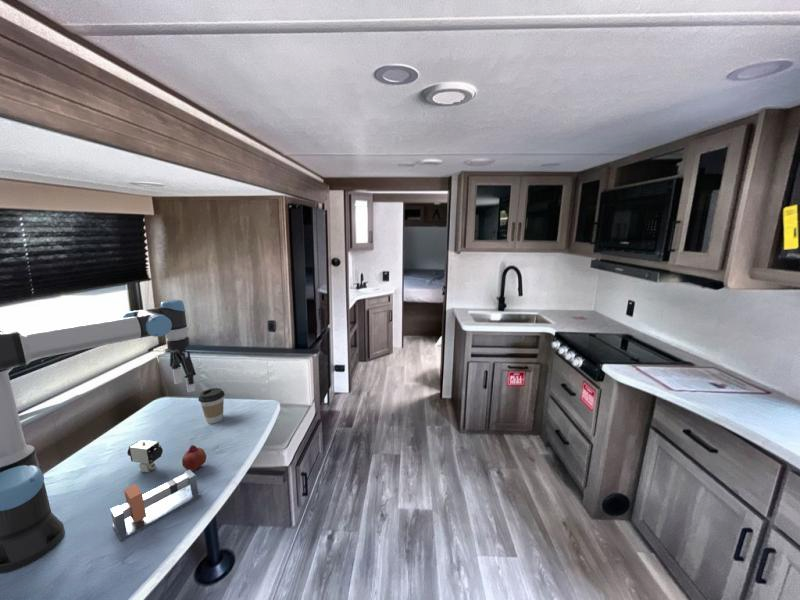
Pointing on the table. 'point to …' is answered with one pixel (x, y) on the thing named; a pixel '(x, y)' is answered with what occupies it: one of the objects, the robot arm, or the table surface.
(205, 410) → the coffee cup
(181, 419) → the table surface
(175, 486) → the grey rail frame
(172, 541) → the table surface
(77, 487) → the table surface
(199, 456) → the fruit
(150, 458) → the pneumatic valve
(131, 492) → the terracotta rectangular block
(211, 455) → the table surface
